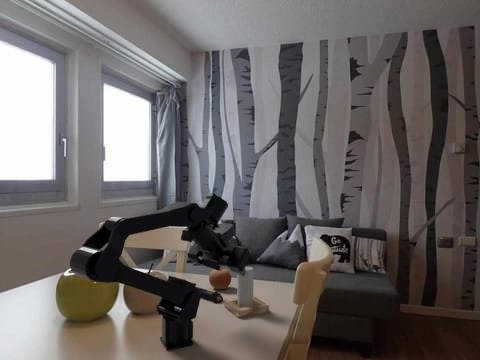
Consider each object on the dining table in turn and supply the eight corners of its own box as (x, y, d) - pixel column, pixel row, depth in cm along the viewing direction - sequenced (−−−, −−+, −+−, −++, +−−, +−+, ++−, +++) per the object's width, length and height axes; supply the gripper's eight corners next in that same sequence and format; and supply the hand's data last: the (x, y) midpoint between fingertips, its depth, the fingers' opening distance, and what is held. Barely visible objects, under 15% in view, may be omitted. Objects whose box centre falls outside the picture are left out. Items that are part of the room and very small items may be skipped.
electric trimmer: (191, 292, 125) (191, 282, 125) (224, 301, 115) (224, 291, 115) (183, 294, 122) (183, 285, 122) (215, 304, 112) (215, 294, 112)
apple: (207, 285, 131) (207, 263, 131) (229, 284, 133) (229, 263, 132) (209, 292, 123) (210, 269, 123) (232, 291, 125) (233, 268, 125)
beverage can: (241, 312, 104) (242, 271, 104) (234, 307, 109) (234, 267, 109) (256, 309, 107) (256, 269, 107) (248, 304, 111) (248, 265, 111)
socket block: (238, 318, 101) (238, 310, 101) (223, 306, 110) (224, 299, 110) (269, 312, 106) (269, 305, 105) (252, 301, 114) (252, 295, 114)
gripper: (247, 217, 92) (270, 252, 101) (194, 212, 103) (219, 244, 112) (227, 252, 86) (253, 287, 95) (174, 243, 97) (202, 275, 106)
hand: (231, 271), depth 102 cm, fingers open, 9 cm apart
